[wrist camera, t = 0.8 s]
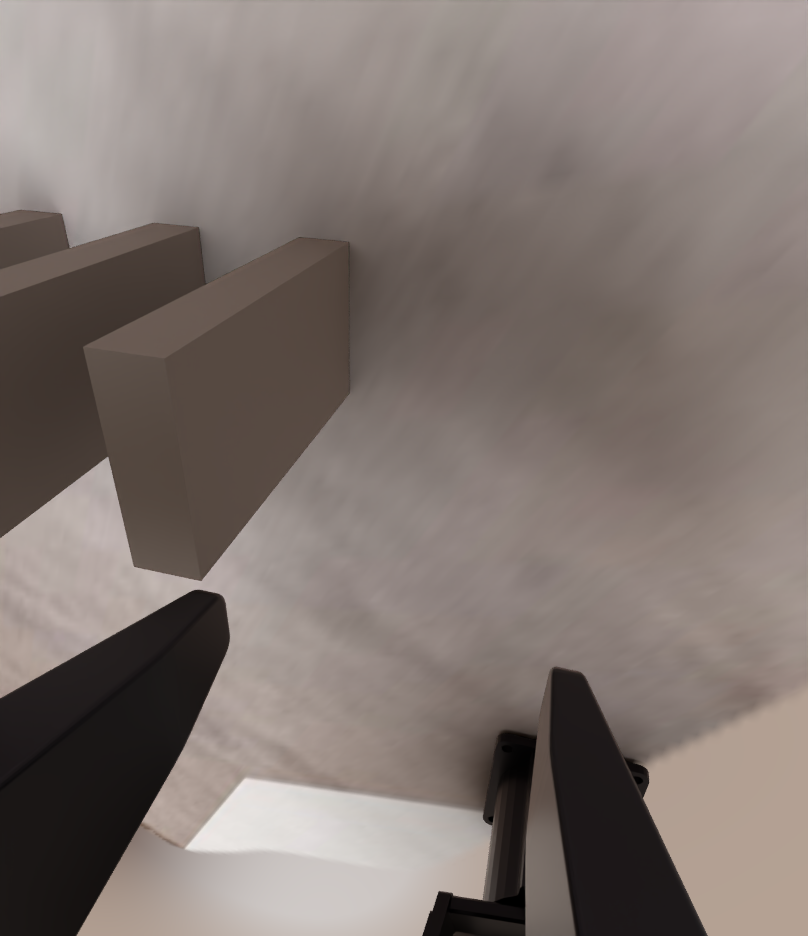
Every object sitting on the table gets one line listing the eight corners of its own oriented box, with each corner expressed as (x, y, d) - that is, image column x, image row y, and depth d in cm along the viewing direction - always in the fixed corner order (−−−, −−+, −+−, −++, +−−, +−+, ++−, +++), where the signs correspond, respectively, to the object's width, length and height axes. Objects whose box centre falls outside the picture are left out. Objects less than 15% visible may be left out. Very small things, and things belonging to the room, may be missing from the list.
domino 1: (198, 227, 20) (-78, 323, 12) (216, 374, 23) (-1, 538, 14) (153, 223, 20) (-148, 313, 12) (175, 368, 23) (-59, 525, 15)
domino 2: (348, 242, 19) (164, 358, 11) (349, 393, 22) (201, 581, 13) (299, 237, 20) (82, 346, 11) (305, 386, 22) (133, 566, 14)
